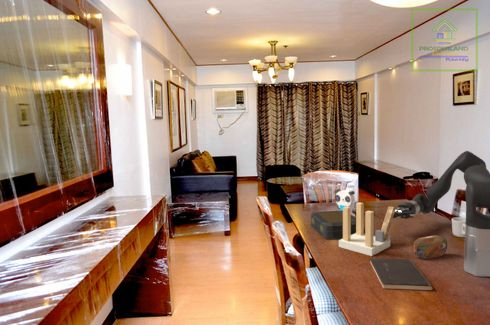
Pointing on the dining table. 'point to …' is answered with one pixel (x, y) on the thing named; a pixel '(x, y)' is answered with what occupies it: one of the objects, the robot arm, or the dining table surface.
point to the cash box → (331, 224)
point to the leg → (388, 221)
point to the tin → (430, 247)
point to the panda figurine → (344, 199)
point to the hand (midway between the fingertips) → (391, 216)
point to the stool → (362, 233)
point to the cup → (458, 226)
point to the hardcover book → (399, 274)
